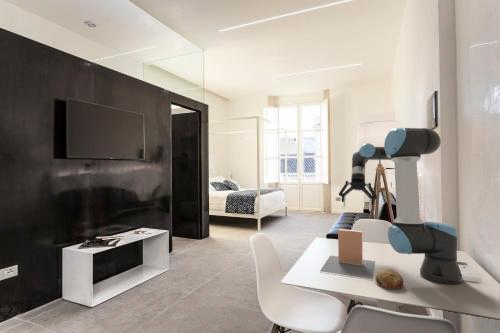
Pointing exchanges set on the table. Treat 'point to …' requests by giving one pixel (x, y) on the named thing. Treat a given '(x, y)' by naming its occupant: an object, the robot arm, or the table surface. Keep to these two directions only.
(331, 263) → the mat
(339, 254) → the tile
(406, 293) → the table surface
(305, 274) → the table surface
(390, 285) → the bread roll
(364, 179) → the robot arm
